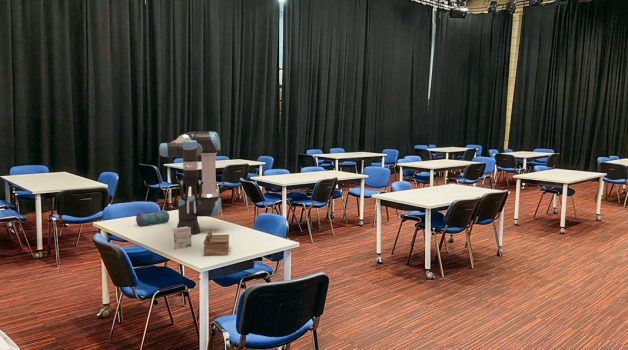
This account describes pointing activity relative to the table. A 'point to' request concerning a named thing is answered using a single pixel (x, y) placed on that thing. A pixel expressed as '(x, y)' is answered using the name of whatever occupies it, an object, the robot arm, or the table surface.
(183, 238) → the ink box
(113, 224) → the table surface
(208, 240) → the lid
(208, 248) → the oak box
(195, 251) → the table surface
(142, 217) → the pencil case
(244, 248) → the table surface
